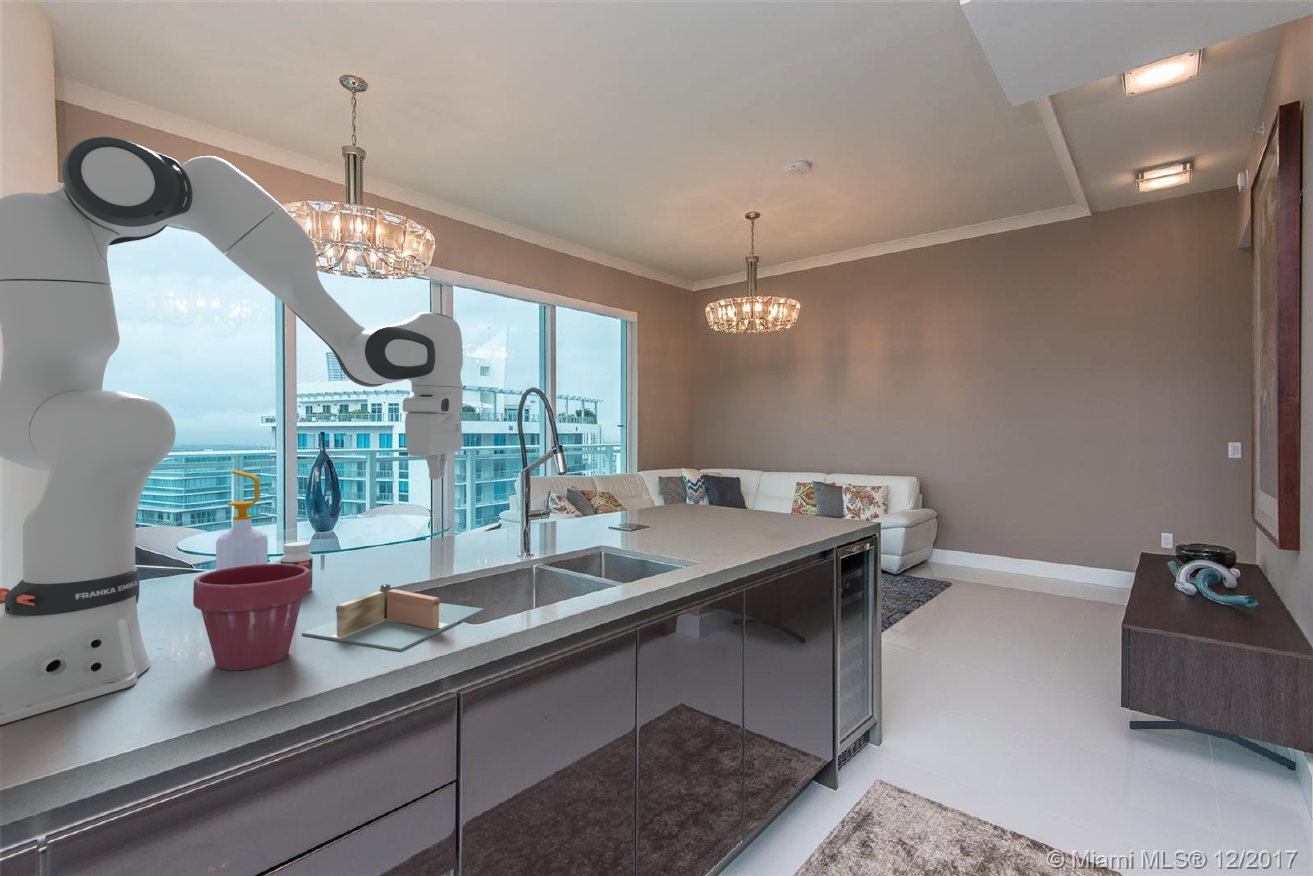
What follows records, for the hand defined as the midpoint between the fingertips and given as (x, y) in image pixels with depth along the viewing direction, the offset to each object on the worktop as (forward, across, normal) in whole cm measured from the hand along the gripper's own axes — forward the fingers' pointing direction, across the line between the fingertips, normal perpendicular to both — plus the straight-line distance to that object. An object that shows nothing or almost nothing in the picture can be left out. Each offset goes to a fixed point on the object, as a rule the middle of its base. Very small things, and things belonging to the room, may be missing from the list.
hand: (436, 478), depth 112 cm
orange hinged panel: (+24, +7, -2) cm, 25 cm away
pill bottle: (+25, -14, -33) cm, 44 cm away
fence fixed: (+25, +9, -10) cm, 28 cm away
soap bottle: (+25, -18, -47) cm, 56 cm away
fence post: (+25, +4, -8) cm, 27 cm away
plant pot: (+25, +22, -20) cm, 39 cm away
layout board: (+25, +5, -5) cm, 26 cm away
